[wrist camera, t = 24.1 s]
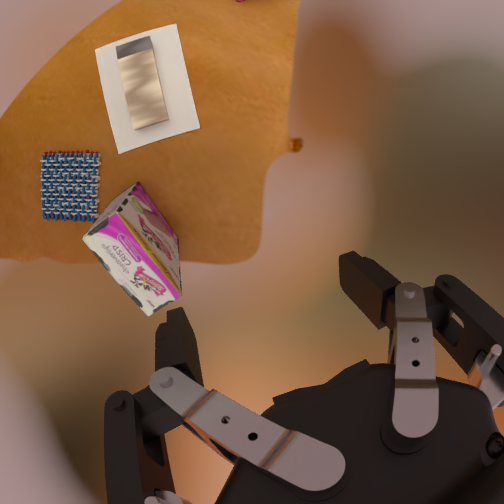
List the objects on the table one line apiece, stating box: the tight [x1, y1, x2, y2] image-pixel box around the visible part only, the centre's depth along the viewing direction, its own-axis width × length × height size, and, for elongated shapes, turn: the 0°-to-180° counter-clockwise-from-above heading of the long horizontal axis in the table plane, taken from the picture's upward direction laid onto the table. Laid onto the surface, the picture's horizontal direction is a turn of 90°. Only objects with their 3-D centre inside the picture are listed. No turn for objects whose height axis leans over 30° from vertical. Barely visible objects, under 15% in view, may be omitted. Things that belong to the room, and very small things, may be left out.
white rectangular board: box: [95, 24, 200, 154], centre depth 31 cm, size 12×17×1 cm
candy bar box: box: [83, 182, 182, 316], centre depth 33 cm, size 11×5×16 cm, turn 29°
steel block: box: [116, 36, 169, 130], centre depth 29 cm, size 4×4×12 cm
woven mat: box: [40, 150, 102, 223], centre depth 34 cm, size 10×11×2 cm
